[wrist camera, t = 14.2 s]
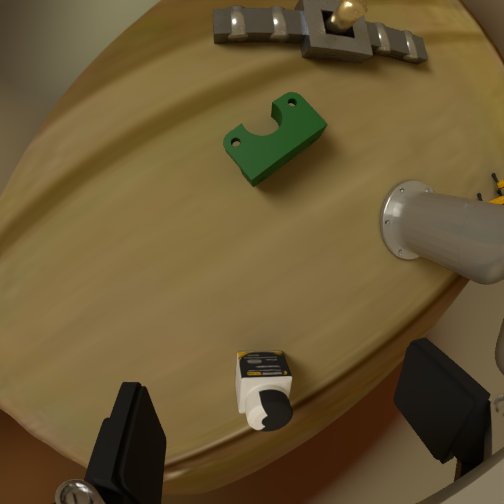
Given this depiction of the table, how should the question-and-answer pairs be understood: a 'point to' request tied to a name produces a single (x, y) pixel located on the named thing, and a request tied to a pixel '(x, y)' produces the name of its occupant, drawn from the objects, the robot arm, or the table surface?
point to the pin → (345, 16)
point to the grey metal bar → (316, 32)
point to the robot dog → (500, 200)
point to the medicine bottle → (264, 389)
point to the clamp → (275, 138)
